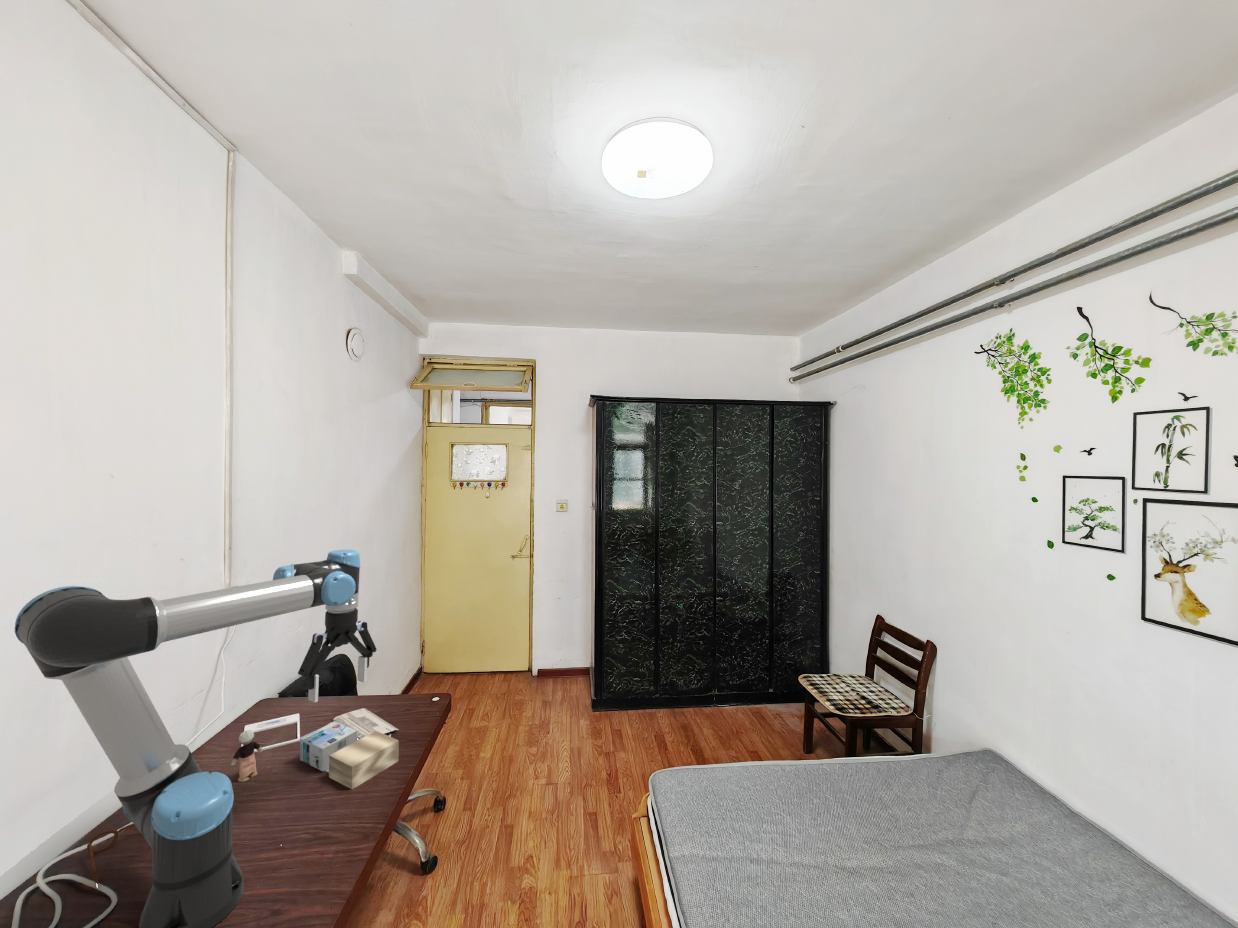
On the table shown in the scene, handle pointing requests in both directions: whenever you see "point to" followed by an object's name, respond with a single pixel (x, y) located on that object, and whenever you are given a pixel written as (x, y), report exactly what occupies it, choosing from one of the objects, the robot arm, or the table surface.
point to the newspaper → (364, 722)
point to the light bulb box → (325, 744)
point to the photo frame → (273, 724)
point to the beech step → (363, 759)
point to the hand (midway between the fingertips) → (338, 690)
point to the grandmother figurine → (246, 756)
